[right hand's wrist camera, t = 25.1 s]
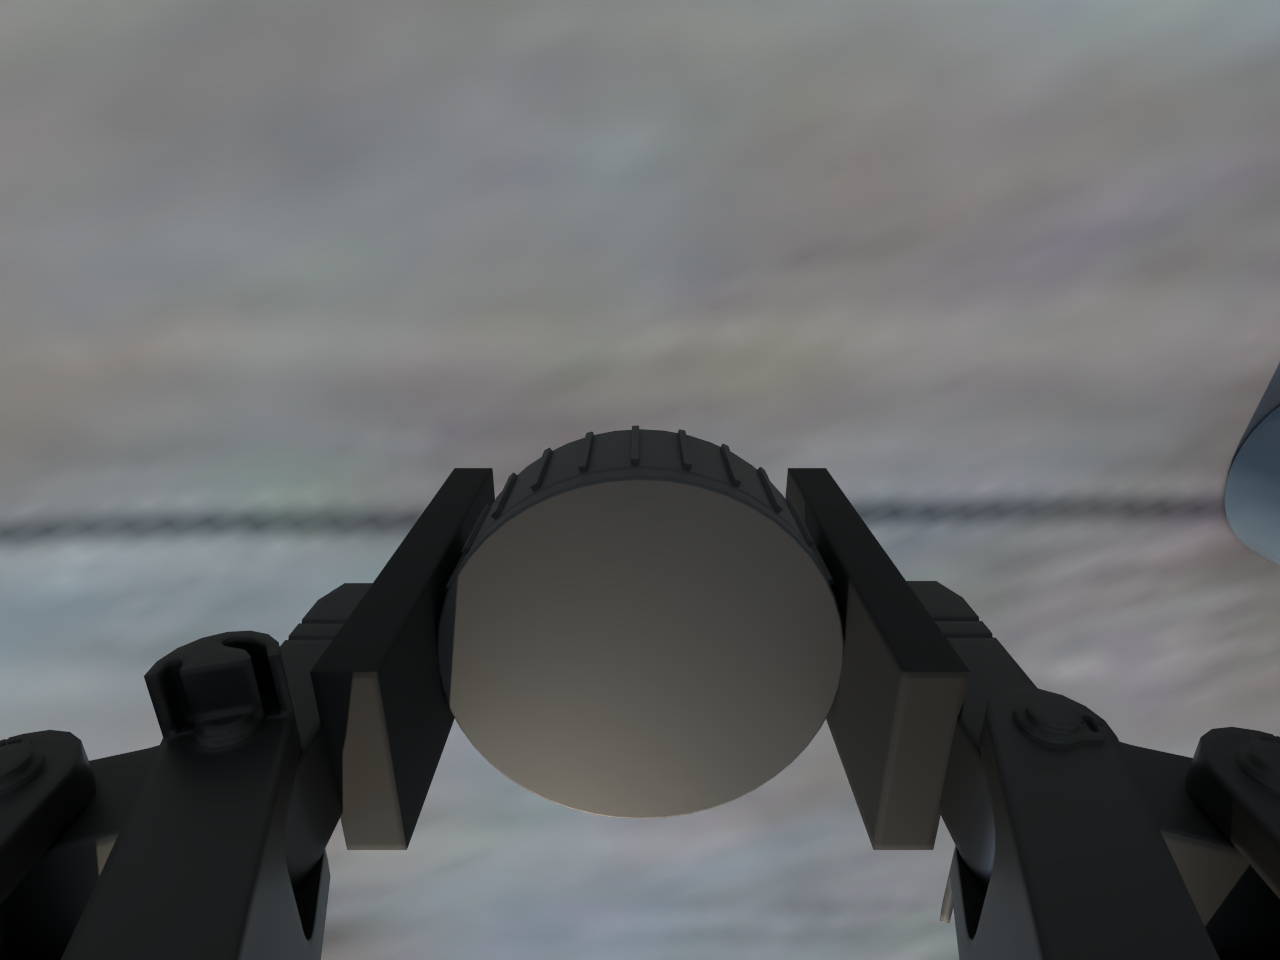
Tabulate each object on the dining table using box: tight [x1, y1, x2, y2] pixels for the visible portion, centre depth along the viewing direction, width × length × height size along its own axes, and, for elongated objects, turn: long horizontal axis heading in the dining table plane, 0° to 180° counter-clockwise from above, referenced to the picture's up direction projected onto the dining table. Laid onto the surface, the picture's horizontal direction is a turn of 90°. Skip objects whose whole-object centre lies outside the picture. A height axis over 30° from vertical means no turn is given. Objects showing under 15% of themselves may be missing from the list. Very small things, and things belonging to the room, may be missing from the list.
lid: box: [436, 426, 844, 819], centre depth 11 cm, size 6×6×2 cm
